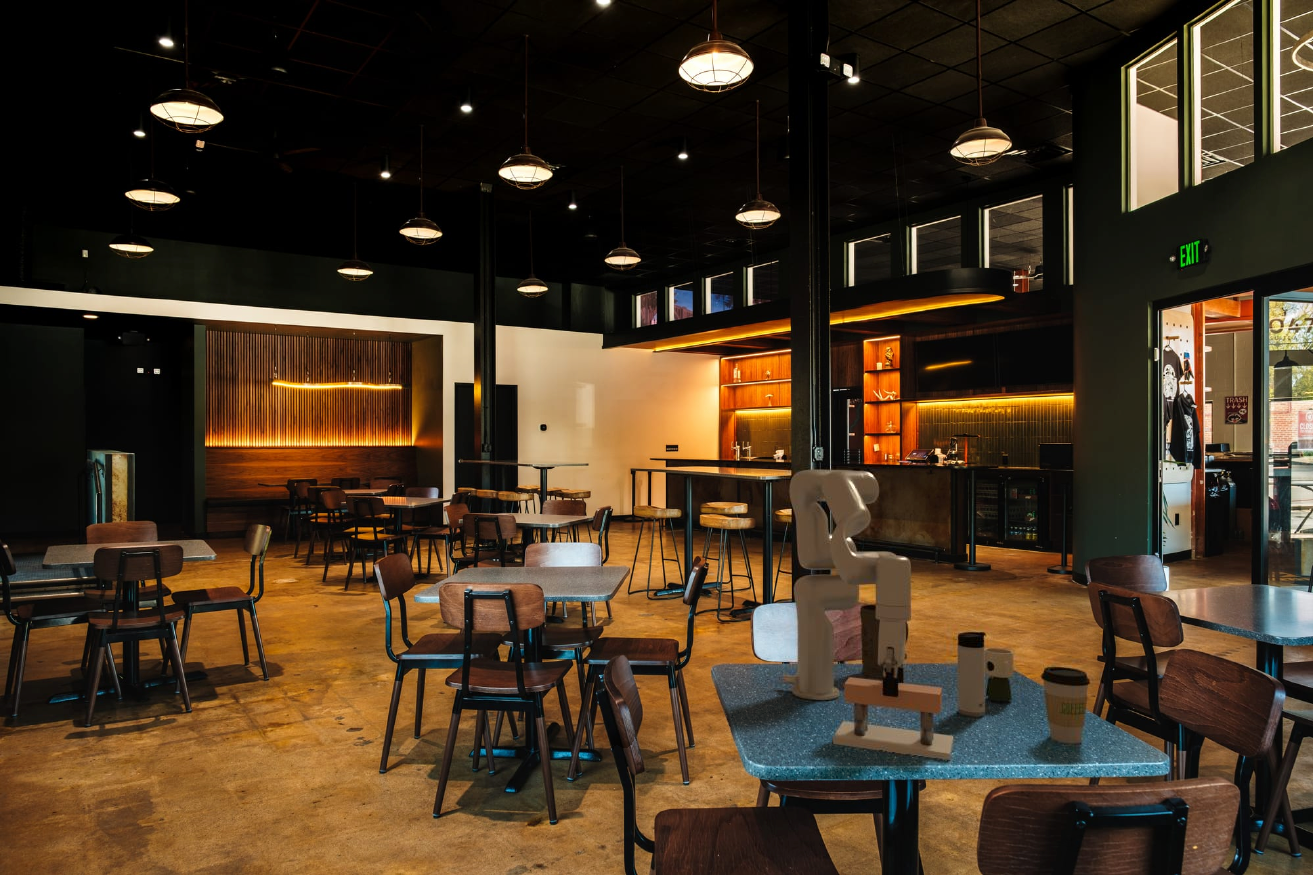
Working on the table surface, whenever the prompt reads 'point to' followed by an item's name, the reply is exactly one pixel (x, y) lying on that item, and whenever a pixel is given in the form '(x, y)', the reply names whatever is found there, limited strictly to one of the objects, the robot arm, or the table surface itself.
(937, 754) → the peg base
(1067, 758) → the table surface
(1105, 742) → the table surface
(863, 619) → the beer stein
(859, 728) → the steel pegs
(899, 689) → the shelf board
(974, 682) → the travel mug
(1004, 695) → the character mug
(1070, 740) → the coffee cup
